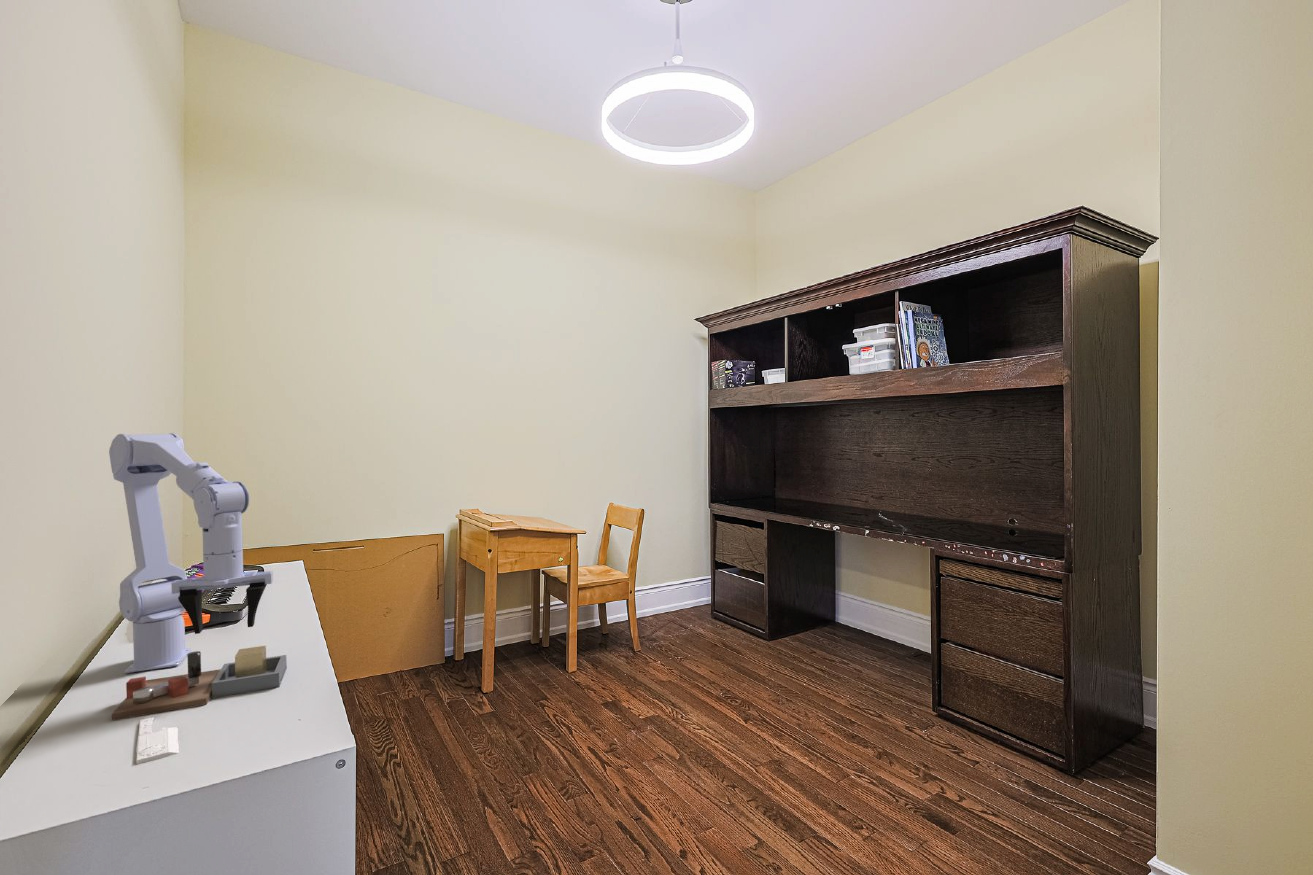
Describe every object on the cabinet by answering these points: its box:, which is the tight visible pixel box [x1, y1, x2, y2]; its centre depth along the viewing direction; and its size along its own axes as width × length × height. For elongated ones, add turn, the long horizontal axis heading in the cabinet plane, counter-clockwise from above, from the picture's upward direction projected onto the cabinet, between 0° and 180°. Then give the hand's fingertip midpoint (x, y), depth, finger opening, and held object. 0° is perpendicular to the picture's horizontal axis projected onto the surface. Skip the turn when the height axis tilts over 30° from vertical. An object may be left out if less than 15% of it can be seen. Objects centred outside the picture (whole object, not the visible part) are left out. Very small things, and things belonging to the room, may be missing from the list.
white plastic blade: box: [135, 716, 180, 765], centre depth 89 cm, size 5×15×1 cm, turn 38°
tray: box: [211, 654, 288, 699], centre depth 109 cm, size 10×10×2 cm
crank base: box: [111, 668, 221, 721], centre depth 104 cm, size 14×12×4 cm
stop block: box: [234, 645, 267, 678], centre depth 109 cm, size 4×4×5 cm
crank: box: [133, 650, 202, 703], centre depth 102 cm, size 9×3×5 cm, turn 147°
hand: (225, 628), depth 109 cm, fingers open, 7 cm apart
